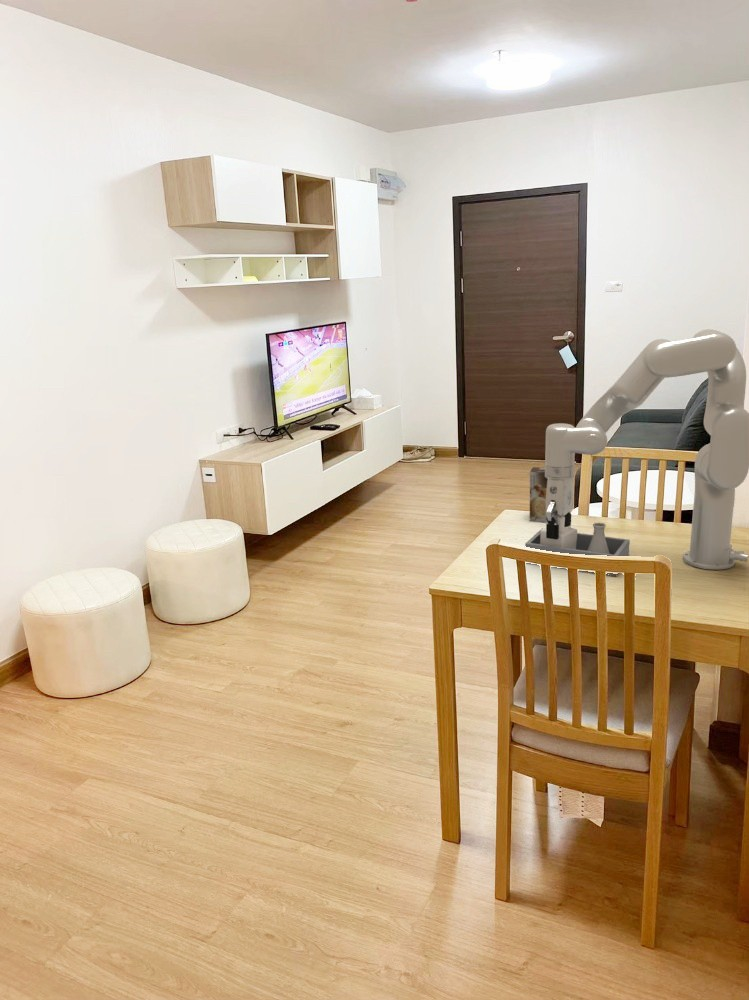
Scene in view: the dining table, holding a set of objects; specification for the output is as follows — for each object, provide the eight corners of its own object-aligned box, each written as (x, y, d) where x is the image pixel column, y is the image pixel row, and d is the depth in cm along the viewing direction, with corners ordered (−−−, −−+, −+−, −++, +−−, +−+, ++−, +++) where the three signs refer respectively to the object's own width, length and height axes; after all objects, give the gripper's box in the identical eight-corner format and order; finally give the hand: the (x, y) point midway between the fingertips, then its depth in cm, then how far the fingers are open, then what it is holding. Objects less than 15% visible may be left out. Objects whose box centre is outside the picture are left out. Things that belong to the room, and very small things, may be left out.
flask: (613, 565, 202) (615, 529, 199) (584, 564, 203) (585, 528, 201) (610, 556, 209) (612, 520, 206) (582, 555, 210) (584, 519, 207)
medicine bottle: (553, 547, 216) (555, 506, 213) (576, 554, 211) (579, 511, 208) (538, 554, 211) (541, 512, 208) (561, 561, 206) (564, 517, 203)
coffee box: (561, 517, 245) (562, 468, 241) (558, 523, 240) (559, 473, 235) (532, 515, 249) (533, 466, 244) (528, 521, 243) (529, 471, 238)
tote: (628, 559, 209) (629, 539, 207) (616, 576, 197) (617, 556, 196) (541, 546, 220) (542, 528, 219) (524, 562, 209) (525, 543, 207)
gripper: (563, 480, 196) (561, 545, 201) (582, 464, 210) (580, 525, 215) (534, 477, 199) (533, 541, 204) (555, 462, 214) (554, 522, 219)
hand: (557, 533), depth 210 cm, fingers open, 9 cm apart
